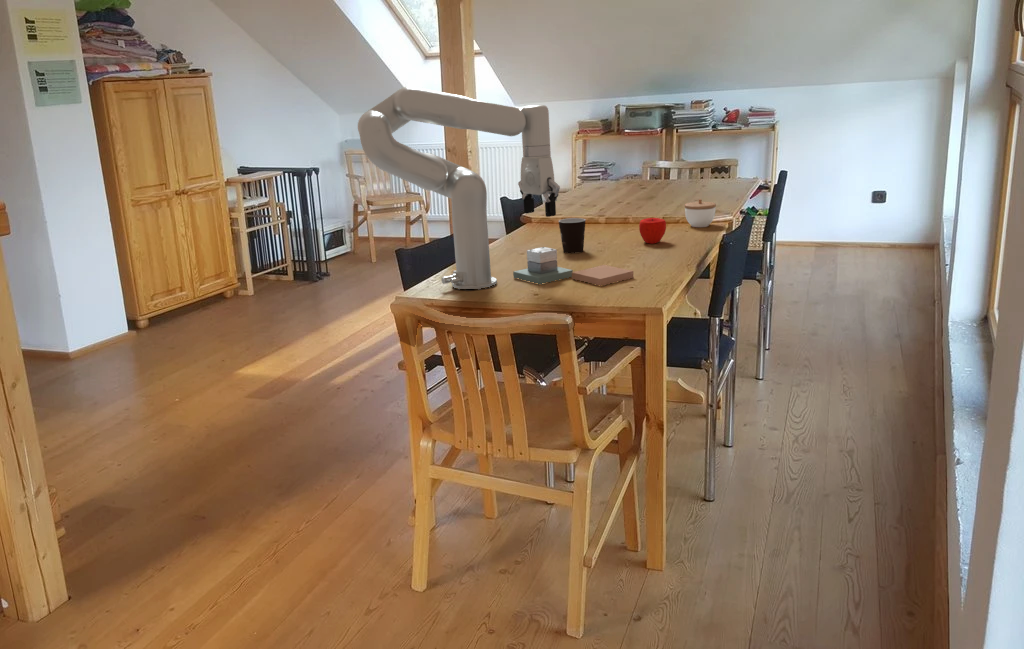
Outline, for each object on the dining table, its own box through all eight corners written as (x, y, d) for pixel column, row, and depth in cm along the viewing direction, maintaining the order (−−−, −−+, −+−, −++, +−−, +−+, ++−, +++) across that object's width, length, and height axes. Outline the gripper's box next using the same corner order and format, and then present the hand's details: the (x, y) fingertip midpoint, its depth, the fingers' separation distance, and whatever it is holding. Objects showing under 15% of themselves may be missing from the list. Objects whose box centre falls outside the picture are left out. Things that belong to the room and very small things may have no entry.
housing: (540, 274, 240) (539, 252, 238) (527, 271, 244) (526, 250, 243) (557, 270, 243) (556, 249, 241) (544, 267, 248) (543, 246, 246)
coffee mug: (581, 254, 271) (580, 223, 268) (555, 253, 275) (554, 222, 272) (593, 247, 281) (592, 216, 278) (568, 246, 285) (567, 216, 282)
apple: (671, 242, 280) (671, 218, 278) (648, 246, 277) (647, 222, 275) (657, 238, 288) (657, 215, 286) (634, 242, 285) (633, 218, 283)
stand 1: (539, 285, 236) (538, 277, 236) (513, 278, 246) (513, 271, 245) (573, 277, 243) (572, 270, 242) (546, 270, 252) (546, 264, 252)
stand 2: (600, 286, 231) (600, 279, 230) (572, 279, 240) (571, 272, 240) (633, 278, 237) (633, 270, 237) (604, 271, 247) (604, 264, 246)
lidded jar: (719, 223, 307) (720, 197, 304) (709, 229, 298) (709, 202, 296) (691, 222, 313) (691, 196, 310) (680, 227, 304) (680, 201, 301)
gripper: (507, 152, 239) (510, 213, 244) (545, 154, 225) (548, 219, 230) (528, 149, 243) (531, 209, 248) (567, 151, 230) (570, 215, 234)
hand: (539, 214), depth 239 cm, fingers open, 9 cm apart
